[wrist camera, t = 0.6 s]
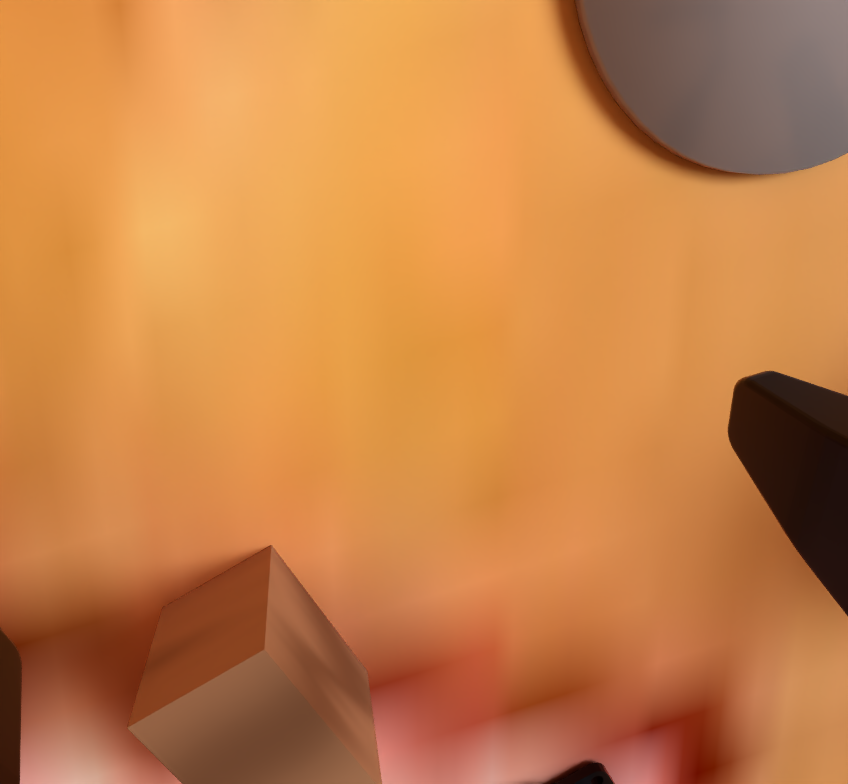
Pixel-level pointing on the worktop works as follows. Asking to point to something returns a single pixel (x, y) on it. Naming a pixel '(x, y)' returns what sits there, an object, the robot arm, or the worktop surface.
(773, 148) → the coaster
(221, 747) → the block
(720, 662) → the worktop surface
